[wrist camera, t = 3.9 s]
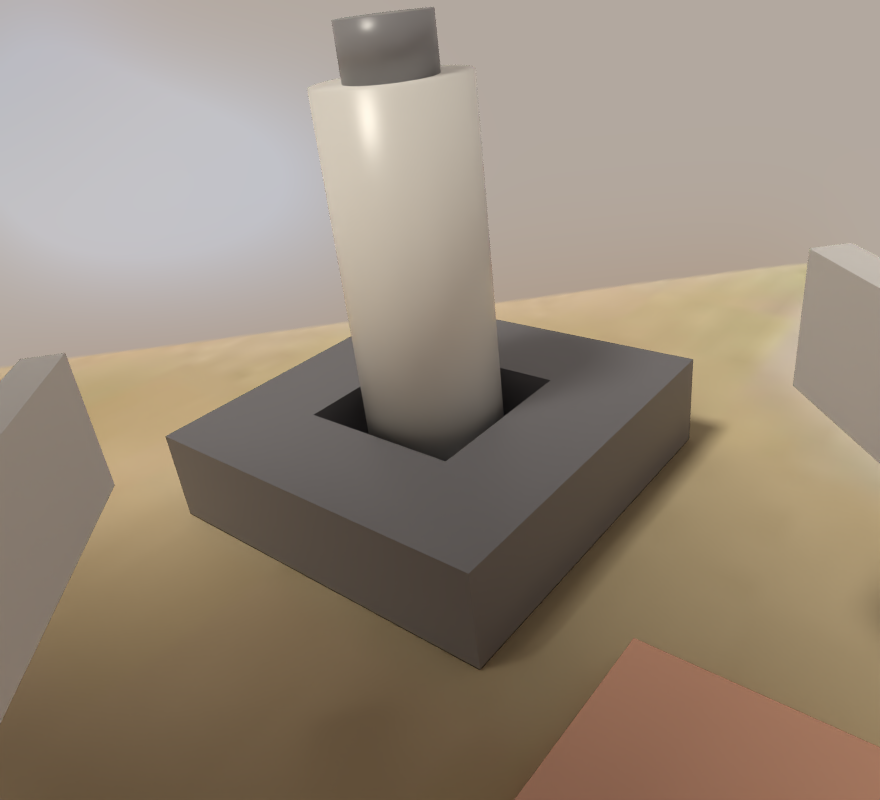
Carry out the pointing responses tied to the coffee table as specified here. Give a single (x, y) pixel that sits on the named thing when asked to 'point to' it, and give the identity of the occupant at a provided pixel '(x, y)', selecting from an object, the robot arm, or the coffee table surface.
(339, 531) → the socket block
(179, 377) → the coffee table surface
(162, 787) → the coffee table surface
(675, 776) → the tile
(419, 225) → the plug
